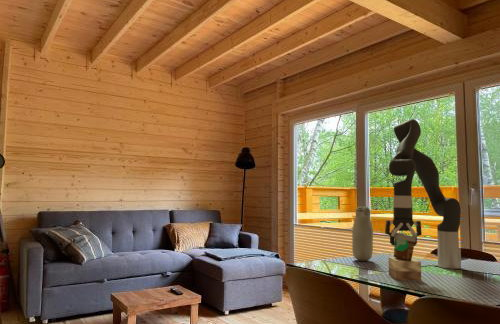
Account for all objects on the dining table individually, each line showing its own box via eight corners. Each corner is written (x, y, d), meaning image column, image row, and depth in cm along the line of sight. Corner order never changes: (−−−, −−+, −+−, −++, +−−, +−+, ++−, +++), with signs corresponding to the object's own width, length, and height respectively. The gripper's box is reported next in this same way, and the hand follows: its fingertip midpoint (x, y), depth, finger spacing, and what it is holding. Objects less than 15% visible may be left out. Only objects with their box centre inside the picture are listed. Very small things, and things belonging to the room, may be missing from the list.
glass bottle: (349, 260, 206) (349, 206, 208) (358, 258, 213) (358, 205, 216) (367, 263, 199) (367, 206, 201) (376, 260, 207) (375, 206, 209)
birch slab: (412, 267, 171) (412, 257, 171) (421, 271, 161) (420, 261, 161) (388, 266, 171) (388, 256, 171) (395, 271, 161) (395, 260, 162)
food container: (386, 254, 172) (389, 231, 173) (400, 256, 172) (403, 233, 173) (397, 259, 160) (401, 234, 161) (412, 261, 160) (416, 236, 161)
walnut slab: (412, 276, 171) (412, 267, 171) (421, 281, 161) (421, 271, 161) (388, 275, 171) (388, 266, 171) (395, 280, 161) (395, 270, 161)
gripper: (416, 206, 172) (417, 244, 170) (383, 205, 172) (383, 244, 171) (423, 207, 164) (424, 247, 163) (388, 206, 165) (388, 246, 164)
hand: (403, 245), depth 167 cm, fingers open, 8 cm apart
